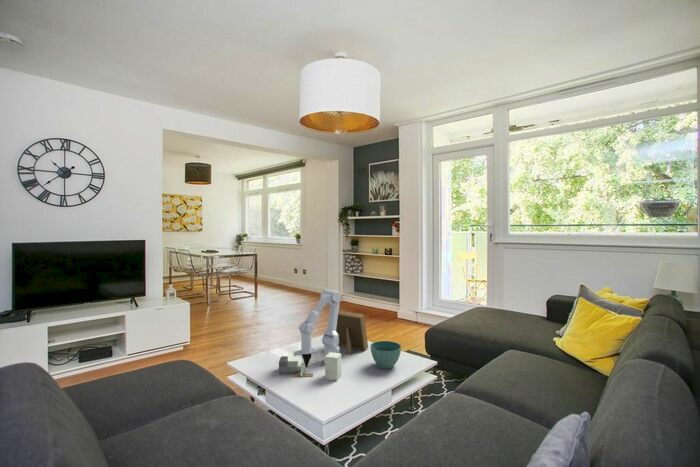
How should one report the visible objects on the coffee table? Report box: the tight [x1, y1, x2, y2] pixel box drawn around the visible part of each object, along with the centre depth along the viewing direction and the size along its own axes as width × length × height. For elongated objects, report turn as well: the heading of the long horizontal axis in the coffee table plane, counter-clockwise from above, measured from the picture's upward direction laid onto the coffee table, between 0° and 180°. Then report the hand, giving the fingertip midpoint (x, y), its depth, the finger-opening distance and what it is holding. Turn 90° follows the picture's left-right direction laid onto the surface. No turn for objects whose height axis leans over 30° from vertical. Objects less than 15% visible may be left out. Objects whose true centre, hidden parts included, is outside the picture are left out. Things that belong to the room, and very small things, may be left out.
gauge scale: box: [292, 372, 314, 378], centre depth 196 cm, size 11×4×1 cm, turn 92°
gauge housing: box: [278, 355, 299, 375], centre depth 202 cm, size 10×8×7 cm
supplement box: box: [324, 352, 343, 381], centre depth 194 cm, size 7×7×13 cm
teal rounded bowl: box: [369, 340, 402, 370], centre depth 209 cm, size 18×18×12 cm
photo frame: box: [336, 310, 369, 355], centre depth 236 cm, size 15×22×25 cm
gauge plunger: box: [297, 361, 306, 376], centre depth 200 cm, size 11×12×4 cm
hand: (306, 366), depth 202 cm, fingers closed
